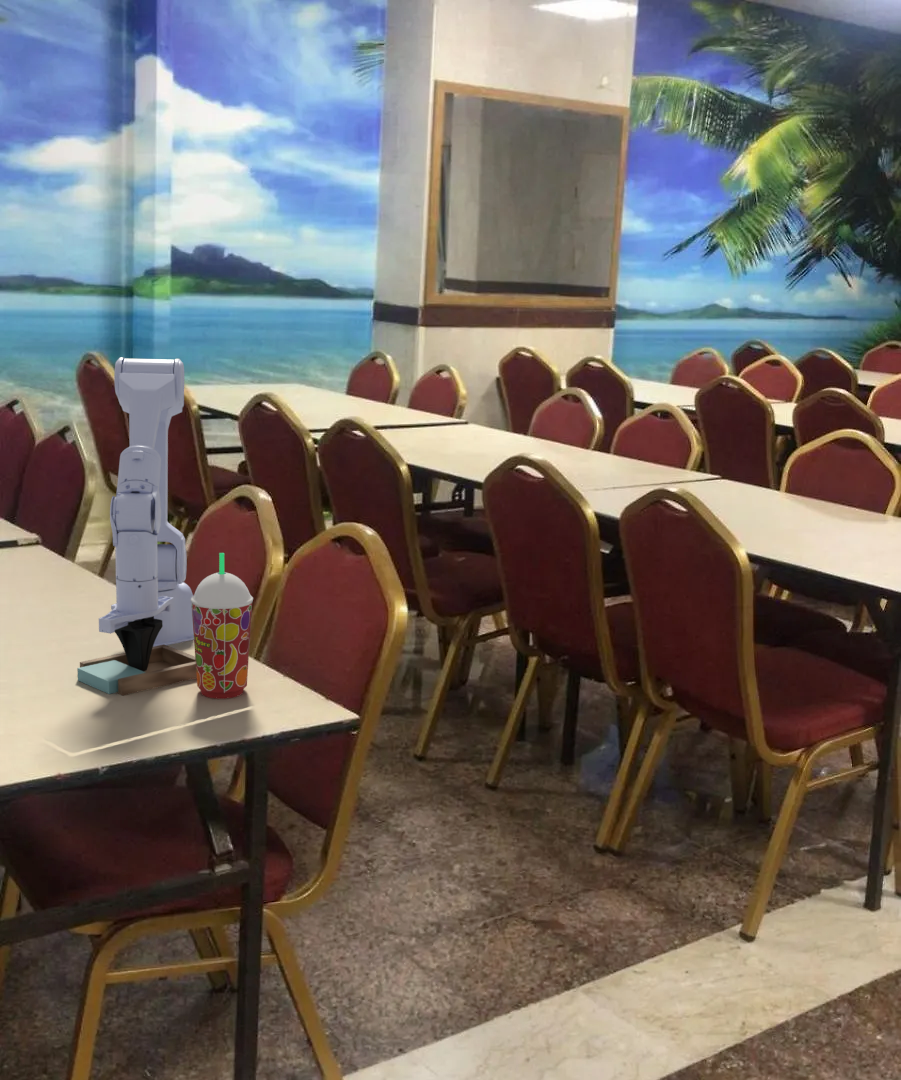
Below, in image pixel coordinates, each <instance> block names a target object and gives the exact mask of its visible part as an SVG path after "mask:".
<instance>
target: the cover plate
mask: <svg viewBox="0 0 901 1080" xmlns="http://www.w3.org/2000/svg"><path fill="white" fill-rule="evenodd" d="M142 673H146V672H143V671H141V670H138V669H136V668H133V667H131V666H128V665H126V664H123V663H121V662H118V661H116V660H112V661H108V662H103V663H99V664H94V665H90V666H85V667H80V666H79V667H77V681H78V682H80V683H82V684H85V685H87V686H90V687H91V688H93V689H97V690H99V691H101V692H103V693H106V694H108V695H111V694H117V693H116V692H118V679H120V678H124V677H129V676H133V675H138V674H142Z"/></svg>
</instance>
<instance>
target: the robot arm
mask: <svg viewBox="0 0 901 1080" xmlns="http://www.w3.org/2000/svg"><path fill="white" fill-rule="evenodd" d="M114 364H115V365H114V375H113V376H114V378H113V380H114V391H115V395H116V397H117V399H118V402H119V405H120V406H121V410H122V411H123V412H125V413H127V414H129V415H128V417H129V418H128V422H129V431H128V432H129V436H128V437H129V446H128V447H126V448H125V449H124V450H122V452H121V453H120V454H119V455H120V456H119V463H118V464H119V465H118V473H117V484H116V485H117V487H116V495H115V496H114V495H112V497H111V501H110V507H109V521H110V527H111V532H112V545H113V547H115V549H114V552H115V597H116V600H115V601H116V602H115V603H114V604H111V605H110V608H111V609H110V611H109V612H108V613H107V614H105V615H104V616H101V617H99V618H98V632H99V633H104V634H105V633H106V634H115V635H116V636H117V638H118V639H119V641H120V643H121V645H122V648H123V650H124V653H125V654H126V657H127V661H128V664H129V666H131V667H133V668H136V669H138V670H141V671H143V672H144V671H146V670H147V668H148V664H149V659H150V655H151V651H152V648H153V647H154V646H159V645H167V646H170V645H175V644H179V643H184V642H188V641H189V642H190V641H194V632H193V619H192V603H191V598H192V596H194V594H193V592H192V591H193V590H192V589H191V587H190V586H189V585H188V584H187V583H186V582H185V581H186V578H187V566H188V565H187V561H188V560H187V548H186V538H185V536H184V533H183V532H181V531H180V530H179V529H177V528H176V527H175V526H173V525H172V524H171V523H169V521H168V505H169V504H168V503H169V502H168V498H169V497H168V496H169V495H168V494H169V493H168V492H169V489H168V487H169V486H168V484H169V483H168V482H169V481H168V474H169V472H168V471H169V469H168V467H169V464H168V461H169V459H168V458H169V456H168V455H169V443H168V442H169V439H168V438H169V436H168V435H169V427H170V424H171V420H172V417H174V416H176V415H179V414H180V413H183V408H184V406H185V366H184V365H185V364H184V361H183V362H182V360H181V359H180V358H175V359H168V358H167V359H161V358H127V357H126V358H125V357H122V356H121V357H119V358H118V359H117V360H116V361H115V363H114ZM158 542H161V543H162V542H166V544H165V543H164V544H163V543H162V544H161V543H159V544H158ZM167 543H170V544H167Z"/></svg>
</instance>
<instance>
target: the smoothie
mask: <svg viewBox="0 0 901 1080" xmlns="http://www.w3.org/2000/svg"><path fill="white" fill-rule="evenodd" d="M218 555H219V556H218V557H219V559H218V560H219V561H218V562H219V563H218V564H219V565H218V566H219V567H218V569H219V571H218V572H215V573H212V574H210V575H208V576H206V577H205V578H203V579H202V580H201V581H200V583H199V584H198V585H197V587H196V589H195V592H194V594H193V596H192V598H191V603H192V619H193V632H194V640H193V643H194V656H195V660H196V674H197V678H196V685H197V688H198V689H199V690H200V694H201V695H202V696H204V697H206V698H210V699H218V700H219V699H223V700H224V699H225V700H226V699H232V698H236V697H239V696H241V695H243V694H244V689H245V688H246V687H247V686H248V675H249V674H248V673H249V671H248V670H249V661H250V660H249V657H250V644H251V643H250V641H251V628H252V626H251V625H252V612H253V611H252V609H253V600H254V597H253V596H252V595H251V593H250V591H249V589H248V587H247V586H246V584H245V582H244V581H243V580H242V579H241V578H239V576H237V575H235V574H233V573H229V572H226V571H225V553H224V552H219V553H218Z"/></svg>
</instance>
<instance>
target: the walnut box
mask: <svg viewBox="0 0 901 1080" xmlns="http://www.w3.org/2000/svg"><path fill="white" fill-rule="evenodd" d="M112 660H116V661H118V662H121V663H123V664H126V665H128V666H129V664H128V661H127V657H126V654H125V652H122V653H117V654H113V655H107V656H103V657H98V658H93V659H88V660H84V661H80V662H79V668H80V667H85V666H90V665H94V664H99V663H103V662H108V661H112ZM144 672H146V673H142V674H138V675H133V676H129V677H124V678H120V679H118V692H116V693H115V694H117V695H120V696H127V695H132V694H135V693H140V692H144V691H148V690H149V691H150V690H153V689H157V688H161V687H165V686H169V685H173V684H174V685H175V684H178V683H181V682H187V681H191V680H195V679H197V674H196V660H195V655H192V654H191V653H187V652H184V651H182V650H179V649H176V648H174V647H172V646H170V645H159V646H154V647H153V648H152V651H151V655H150V659H149V664H148V668H147V670H146V671H144Z"/></svg>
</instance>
